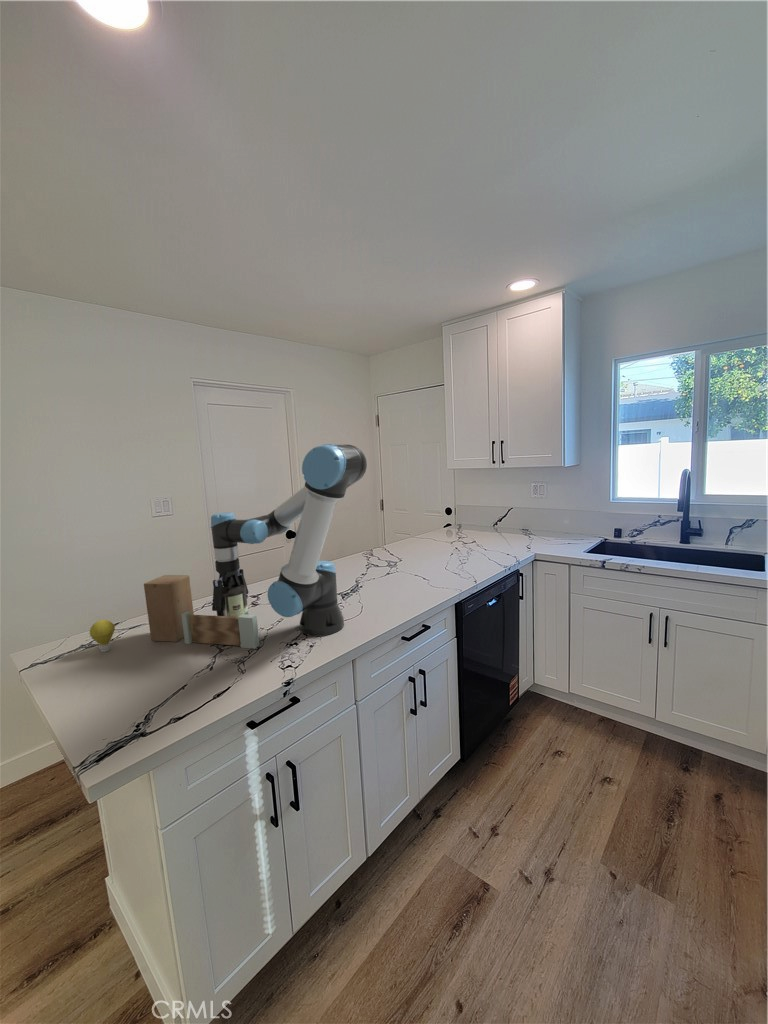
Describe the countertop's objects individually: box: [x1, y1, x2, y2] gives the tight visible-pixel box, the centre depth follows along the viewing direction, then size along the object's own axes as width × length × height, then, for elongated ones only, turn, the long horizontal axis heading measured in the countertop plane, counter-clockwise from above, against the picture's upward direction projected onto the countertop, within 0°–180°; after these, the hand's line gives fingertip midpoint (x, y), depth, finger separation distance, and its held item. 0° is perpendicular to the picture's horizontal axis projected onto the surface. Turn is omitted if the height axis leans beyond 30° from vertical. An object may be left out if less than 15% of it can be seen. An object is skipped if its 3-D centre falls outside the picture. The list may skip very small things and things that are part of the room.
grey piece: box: [181, 612, 260, 649], centre depth 134 cm, size 26×3×10 cm, turn 77°
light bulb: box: [89, 619, 116, 653], centre depth 134 cm, size 7×7×10 cm
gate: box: [189, 614, 241, 647], centre depth 135 cm, size 18×1×9 cm, turn 77°
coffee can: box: [216, 585, 249, 617], centre depth 143 cm, size 10×10×14 cm
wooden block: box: [143, 574, 195, 643], centre depth 142 cm, size 10×10×20 cm
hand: (233, 622), depth 143 cm, fingers closed on coffee can, 10 cm apart
